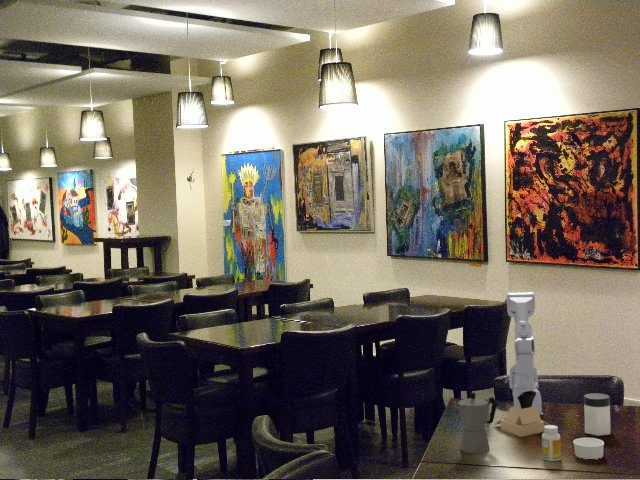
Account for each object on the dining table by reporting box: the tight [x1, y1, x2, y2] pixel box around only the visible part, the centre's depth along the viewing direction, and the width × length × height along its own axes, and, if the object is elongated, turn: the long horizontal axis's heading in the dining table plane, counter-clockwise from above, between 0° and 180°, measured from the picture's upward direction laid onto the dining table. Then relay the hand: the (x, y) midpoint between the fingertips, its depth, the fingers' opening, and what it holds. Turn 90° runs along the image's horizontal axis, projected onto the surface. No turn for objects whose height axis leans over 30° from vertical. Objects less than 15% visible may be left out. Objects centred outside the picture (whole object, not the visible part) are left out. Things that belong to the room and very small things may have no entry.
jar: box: [583, 392, 611, 437], centre depth 265 cm, size 9×8×12 cm
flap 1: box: [493, 417, 506, 426], centre depth 277 cm, size 9×1×5 cm
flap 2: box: [505, 406, 519, 424], centre depth 269 cm, size 1×5×5 cm
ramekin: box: [572, 437, 605, 460], centre depth 242 cm, size 9×9×4 cm
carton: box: [499, 416, 545, 438], centre depth 271 cm, size 10×10×4 cm
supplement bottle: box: [541, 424, 562, 462], centre depth 241 cm, size 5×5×10 cm
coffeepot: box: [454, 392, 498, 455], centre depth 253 cm, size 15×9×18 cm, turn 113°
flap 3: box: [518, 406, 542, 425], centre depth 267 cm, size 8×1×5 cm, turn 117°
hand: (526, 413), depth 271 cm, fingers closed
